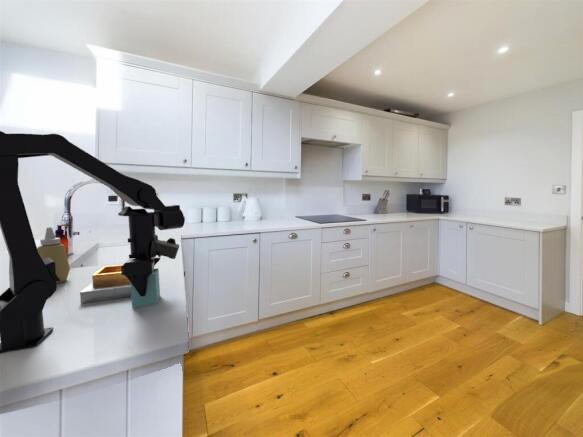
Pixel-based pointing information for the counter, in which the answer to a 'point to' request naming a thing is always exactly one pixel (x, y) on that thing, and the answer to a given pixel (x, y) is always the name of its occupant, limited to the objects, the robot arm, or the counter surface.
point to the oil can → (147, 292)
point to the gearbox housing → (107, 285)
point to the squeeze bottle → (55, 254)
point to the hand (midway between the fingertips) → (146, 290)
